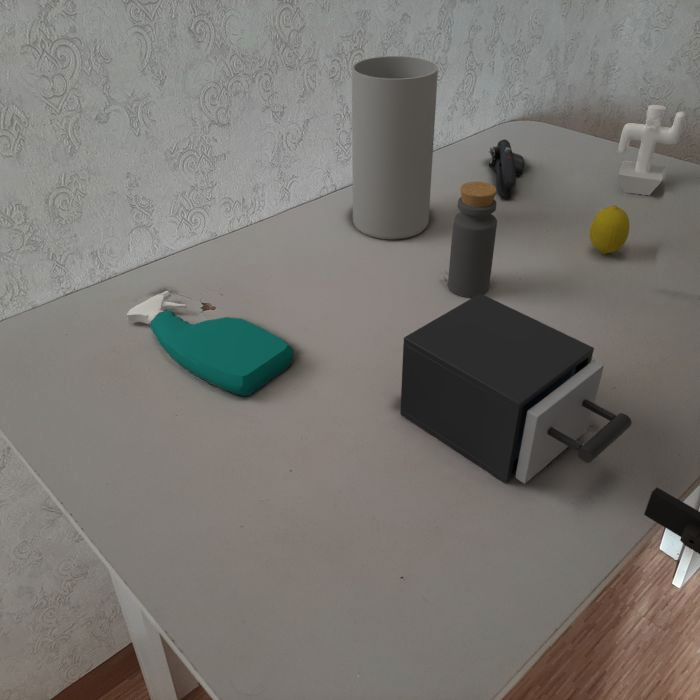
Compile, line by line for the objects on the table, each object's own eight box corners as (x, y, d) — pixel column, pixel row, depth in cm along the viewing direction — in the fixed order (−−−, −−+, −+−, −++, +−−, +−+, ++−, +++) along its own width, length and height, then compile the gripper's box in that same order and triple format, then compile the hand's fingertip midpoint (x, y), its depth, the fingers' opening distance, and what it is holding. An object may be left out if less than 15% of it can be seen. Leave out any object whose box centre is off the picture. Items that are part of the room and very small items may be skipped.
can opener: (486, 162, 140) (489, 134, 136) (523, 164, 139) (527, 136, 136) (484, 200, 126) (488, 170, 122) (525, 203, 125) (529, 172, 121)
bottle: (439, 282, 103) (447, 184, 94) (473, 273, 105) (483, 176, 97) (462, 301, 99) (473, 201, 90) (497, 291, 101) (510, 192, 92)
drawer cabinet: (575, 425, 78) (594, 347, 72) (505, 484, 72) (519, 403, 65) (471, 367, 87) (480, 292, 81) (400, 414, 80) (403, 337, 74)
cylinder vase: (411, 247, 112) (419, 83, 97) (340, 232, 116) (337, 73, 102) (438, 215, 121) (449, 61, 106) (371, 202, 125) (373, 52, 111)
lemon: (584, 259, 108) (594, 211, 104) (586, 243, 113) (596, 195, 108) (622, 265, 107) (634, 216, 102) (623, 248, 111) (635, 200, 106)
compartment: (630, 453, 74) (651, 387, 68) (568, 512, 67) (586, 444, 62) (487, 373, 85) (495, 311, 79) (422, 418, 78) (427, 353, 73)
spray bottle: (238, 405, 82) (110, 331, 94) (303, 360, 88) (175, 297, 101) (235, 385, 80) (105, 312, 93) (301, 341, 87) (171, 279, 100)
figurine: (612, 178, 133) (630, 96, 124) (666, 186, 130) (688, 102, 121) (607, 193, 128) (625, 108, 119) (663, 201, 125) (686, 115, 116)
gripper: (909, 777, 44) (603, 570, 57) (999, 552, 58) (737, 425, 71) (970, 716, 40) (624, 506, 53) (1052, 488, 54) (762, 365, 66)
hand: (688, 459), depth 62 cm, fingers open, 13 cm apart
